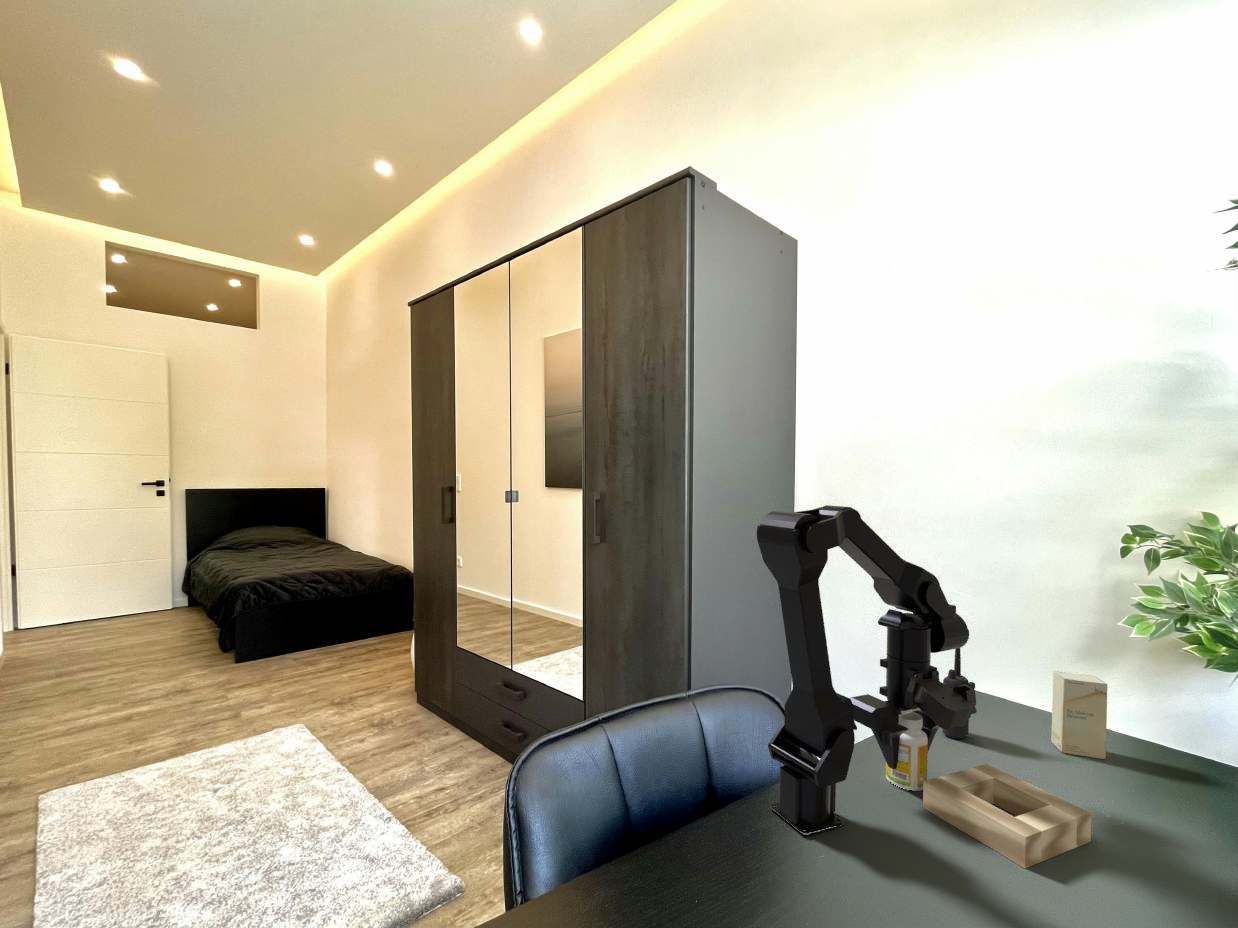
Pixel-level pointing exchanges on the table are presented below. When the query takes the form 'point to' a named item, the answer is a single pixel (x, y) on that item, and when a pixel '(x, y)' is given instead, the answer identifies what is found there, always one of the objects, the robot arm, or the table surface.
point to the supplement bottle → (910, 755)
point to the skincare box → (1079, 714)
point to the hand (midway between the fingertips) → (906, 764)
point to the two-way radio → (954, 680)
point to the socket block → (1022, 839)
